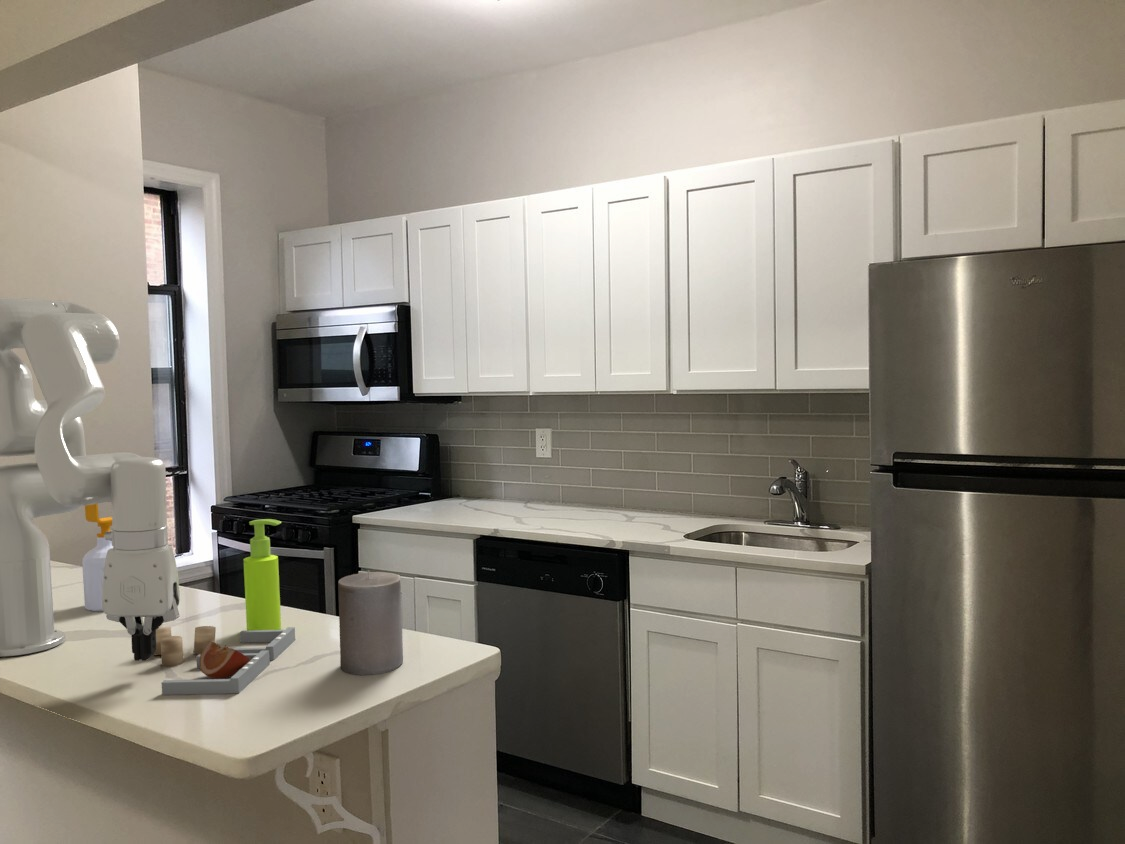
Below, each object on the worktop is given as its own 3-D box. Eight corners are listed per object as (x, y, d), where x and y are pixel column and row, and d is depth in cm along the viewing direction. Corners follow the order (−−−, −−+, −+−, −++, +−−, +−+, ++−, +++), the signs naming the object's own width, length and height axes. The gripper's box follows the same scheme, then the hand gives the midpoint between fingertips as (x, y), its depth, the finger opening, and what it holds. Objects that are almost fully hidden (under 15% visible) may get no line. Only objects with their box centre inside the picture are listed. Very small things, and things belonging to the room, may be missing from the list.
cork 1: (163, 654, 149) (161, 630, 149) (147, 655, 150) (145, 631, 150) (176, 650, 152) (175, 626, 152) (160, 651, 153) (159, 627, 153)
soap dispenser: (276, 635, 160) (270, 522, 159) (240, 634, 161) (235, 522, 160) (292, 625, 166) (287, 517, 164) (257, 624, 167) (252, 517, 166)
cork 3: (203, 655, 148) (204, 631, 148) (189, 652, 150) (190, 628, 150) (218, 651, 151) (219, 627, 151) (205, 649, 153) (206, 625, 153)
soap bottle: (143, 603, 186) (137, 484, 184) (100, 614, 178) (93, 489, 176) (118, 598, 190) (111, 482, 189) (75, 608, 183) (68, 487, 181)
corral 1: (162, 694, 131) (161, 679, 131) (199, 665, 144) (198, 651, 144) (238, 693, 131) (238, 677, 131) (269, 664, 144) (268, 649, 144)
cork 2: (158, 666, 144) (156, 642, 144) (167, 660, 147) (166, 636, 147) (178, 666, 144) (176, 641, 144) (186, 660, 147) (185, 635, 147)
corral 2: (217, 661, 146) (216, 647, 146) (242, 640, 157) (241, 627, 157) (273, 659, 146) (273, 645, 146) (295, 639, 157) (294, 626, 157)
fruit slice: (191, 676, 139) (189, 644, 139) (233, 665, 144) (231, 634, 144) (217, 688, 133) (215, 655, 133) (259, 676, 138) (257, 644, 138)
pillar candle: (330, 664, 143) (326, 570, 142) (387, 650, 149) (383, 560, 148) (357, 680, 135) (353, 581, 134) (415, 665, 141) (412, 571, 140)
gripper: (77, 544, 134) (82, 665, 135) (178, 544, 133) (182, 666, 135) (104, 534, 141) (108, 649, 142) (199, 534, 141) (203, 650, 142)
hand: (144, 657), depth 139 cm, fingers closed
